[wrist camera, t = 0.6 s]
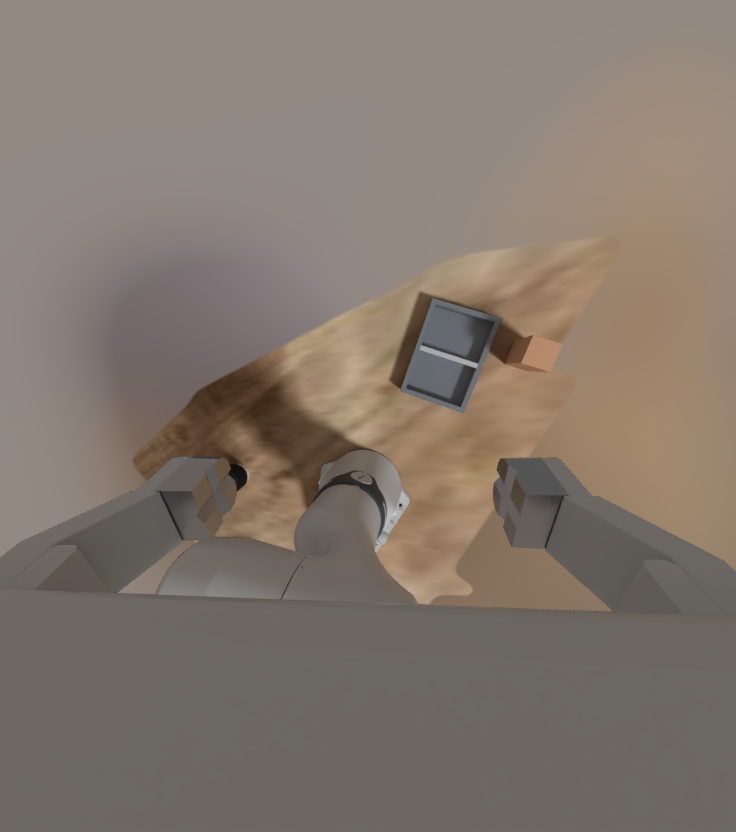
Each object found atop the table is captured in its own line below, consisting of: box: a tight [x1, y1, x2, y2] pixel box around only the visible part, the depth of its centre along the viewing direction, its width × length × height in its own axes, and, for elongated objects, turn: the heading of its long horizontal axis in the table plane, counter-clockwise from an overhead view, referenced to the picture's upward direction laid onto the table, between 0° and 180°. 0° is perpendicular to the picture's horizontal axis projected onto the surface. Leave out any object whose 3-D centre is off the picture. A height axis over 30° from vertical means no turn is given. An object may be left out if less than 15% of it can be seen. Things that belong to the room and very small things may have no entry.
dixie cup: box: [228, 464, 249, 491], centre depth 61 cm, size 8×8×11 cm
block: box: [504, 335, 562, 372], centre depth 47 cm, size 4×4×10 cm
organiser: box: [400, 298, 502, 413], centre depth 52 cm, size 16×12×3 cm
